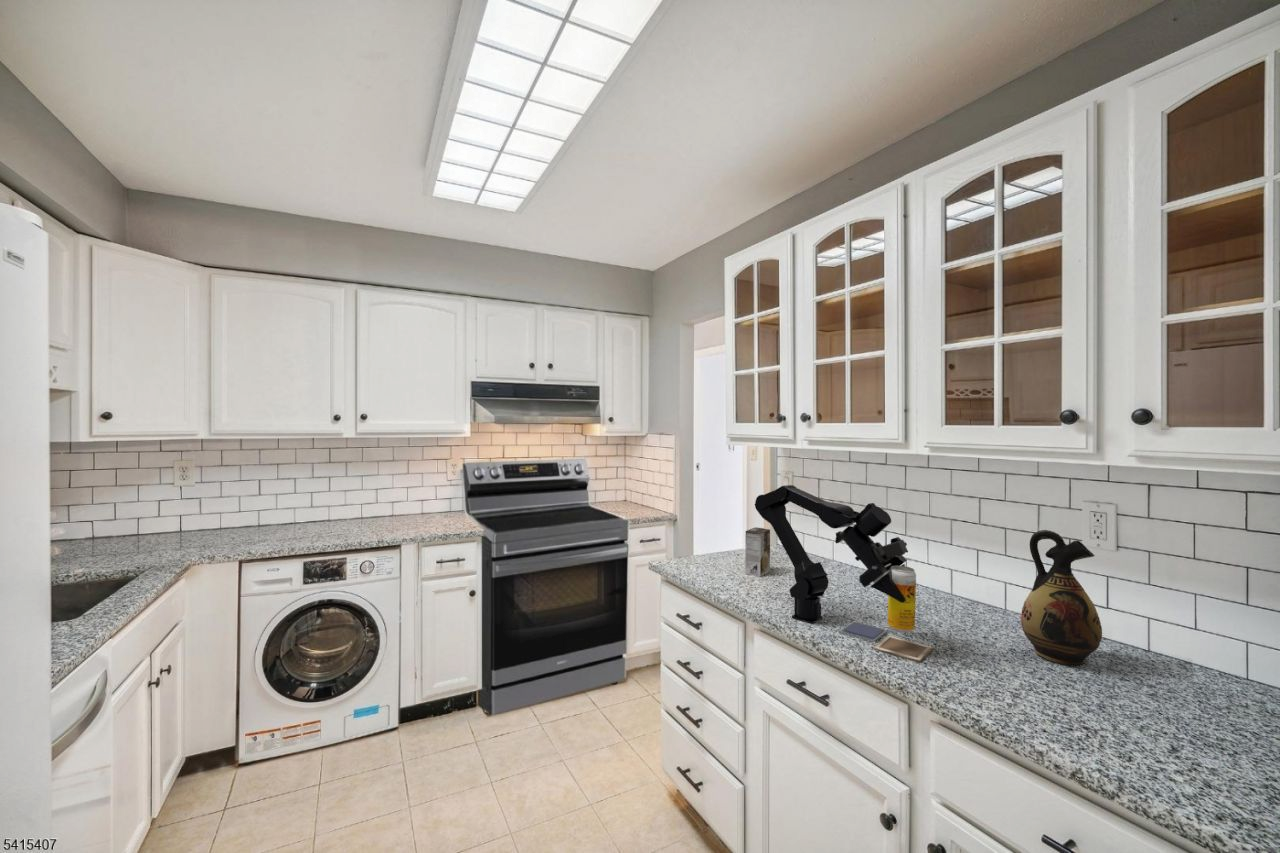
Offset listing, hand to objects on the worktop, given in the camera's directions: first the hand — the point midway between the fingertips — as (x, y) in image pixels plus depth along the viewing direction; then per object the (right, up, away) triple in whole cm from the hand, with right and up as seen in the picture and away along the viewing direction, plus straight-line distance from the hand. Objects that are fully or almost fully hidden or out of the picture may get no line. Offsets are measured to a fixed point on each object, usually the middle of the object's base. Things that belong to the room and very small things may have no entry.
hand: (908, 598), depth 134 cm
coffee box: (-22, -12, +69) cm, 73 cm away
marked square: (-1, -13, +1) cm, 13 cm away
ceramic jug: (+34, -13, -3) cm, 37 cm away
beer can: (-1, -8, +1) cm, 8 cm away
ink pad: (-7, -13, +11) cm, 18 cm away
